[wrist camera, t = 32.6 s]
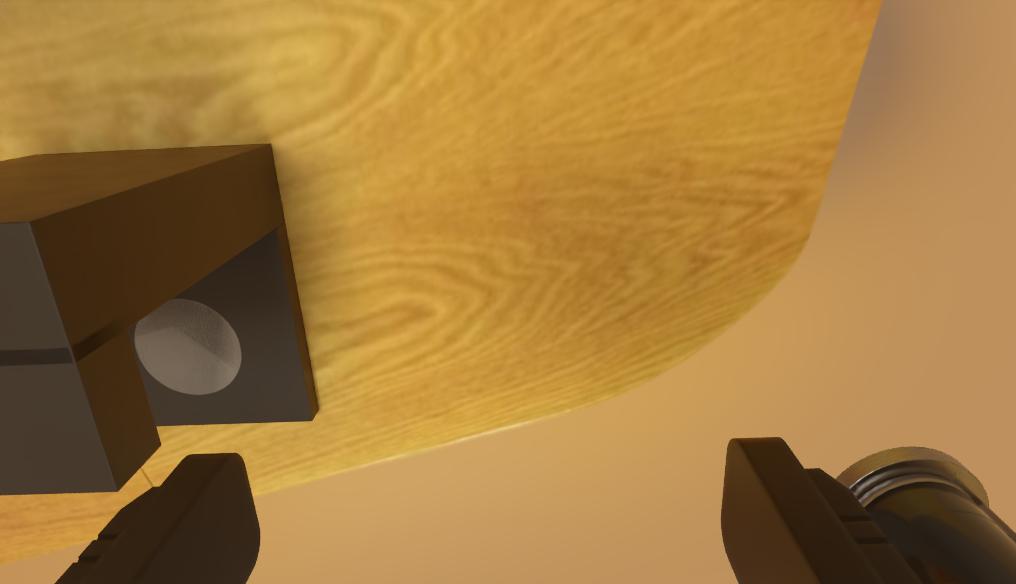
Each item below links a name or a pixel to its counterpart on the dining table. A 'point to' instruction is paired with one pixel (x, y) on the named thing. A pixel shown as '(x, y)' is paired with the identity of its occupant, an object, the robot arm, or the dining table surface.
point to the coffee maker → (140, 309)
